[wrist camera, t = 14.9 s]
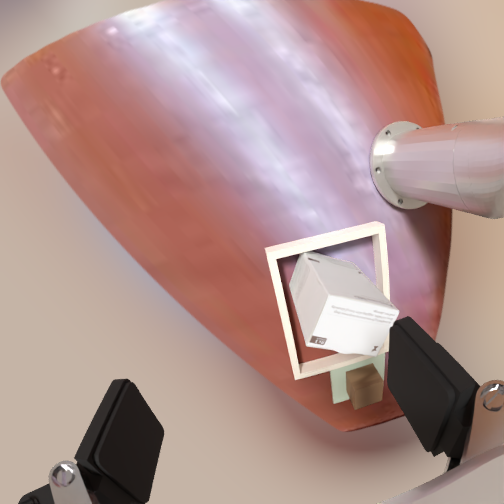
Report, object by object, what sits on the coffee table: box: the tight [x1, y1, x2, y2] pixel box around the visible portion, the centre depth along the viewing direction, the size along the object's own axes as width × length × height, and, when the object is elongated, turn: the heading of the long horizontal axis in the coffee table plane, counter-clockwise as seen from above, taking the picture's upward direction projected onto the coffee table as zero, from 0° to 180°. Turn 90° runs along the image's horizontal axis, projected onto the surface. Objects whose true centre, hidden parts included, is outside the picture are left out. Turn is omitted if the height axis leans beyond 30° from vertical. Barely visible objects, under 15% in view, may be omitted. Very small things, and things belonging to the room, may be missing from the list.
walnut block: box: [346, 363, 384, 410], centre depth 40 cm, size 5×5×5 cm
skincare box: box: [289, 251, 399, 357], centre depth 31 cm, size 8×6×15 cm
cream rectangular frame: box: [265, 221, 390, 380], centre depth 38 cm, size 16×21×2 cm
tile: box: [330, 353, 385, 404], centre depth 43 cm, size 10×10×1 cm
